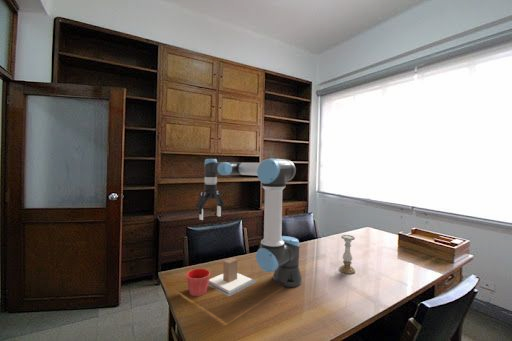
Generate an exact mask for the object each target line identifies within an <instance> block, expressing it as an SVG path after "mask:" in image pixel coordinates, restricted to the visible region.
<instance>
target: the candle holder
mask: <svg viewBox="0 0 512 341" xmlns="http://www.w3.org/2000/svg"><path fill="white" fill-rule="evenodd" d="M340 237H341V239H342V240H343V241H344V248H345V249H344V252H343V254H342V263H343V264H342V265H341V266H340V267H338V268H339V272H341V273H343V274H347V275H353V274H355V272H356V269H355V268H354V267H353V266H352V260H353V254H352V253H351V248H352V245H351V243H352V241H355V240H356V237H355V236H354V235H350V234H342V235H341V236H340Z"/></svg>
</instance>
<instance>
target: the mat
mask: <svg viewBox="0 0 512 341" xmlns="http://www.w3.org/2000/svg"><path fill="white" fill-rule="evenodd" d="M240 274H241V275H243V273H240ZM247 277H248V276H247ZM248 278H250V277H248ZM251 279H252V282H250V283H248V284H246V285H244V286H242V287H241V288H239V289H237V290H235V291H233V292H231V293H228V292H226V291H224V290H222V289H220V288H218V287H216V286H214V285H213V284H211V283H209V282H208V287H211V288H212V289H214V290H216V291H217V292H219V293H221V294H223V295H225V296H226V297H231V296H233V295H235V294H237V293H239V292H241V291H242V290H244V289H246V288H248V287H250V286H252V285H254V284H255V283H257V282H258V280H255V279H253V278H251Z"/></svg>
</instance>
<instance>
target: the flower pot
mask: <svg viewBox="0 0 512 341" xmlns="http://www.w3.org/2000/svg"><path fill="white" fill-rule="evenodd" d="M210 277H211V271H210V270H209V269H206V268H195V269H191V270H189V271H187V273H186V283H187V288H188V291H189V292H188V293H189V295H190V296H193V297H200V296H203V295H205V294H206V293H207V292H208V287H209V286H208V282H209V279H210Z"/></svg>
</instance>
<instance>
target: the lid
mask: <svg viewBox="0 0 512 341" xmlns="http://www.w3.org/2000/svg"><path fill="white" fill-rule="evenodd" d="M222 271H223V273H221V274H219V275H216V276H214V277H211V278H209V283H211V284H213V285H214V286H216V287H218V288H220V289H222V290H224V291H226V292H228V293H231V292H233V291H235V290H237V289H239V288H241V287H242V286H244V285H246V284H248V283H250V282H252V279H253V278H251V277H249V278H248V276H246V275H244V274H242V273H239V272H238V259H236V258H234V257H231V258H228V259H225V260H223V270H222ZM241 274H242V275H241Z"/></svg>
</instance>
